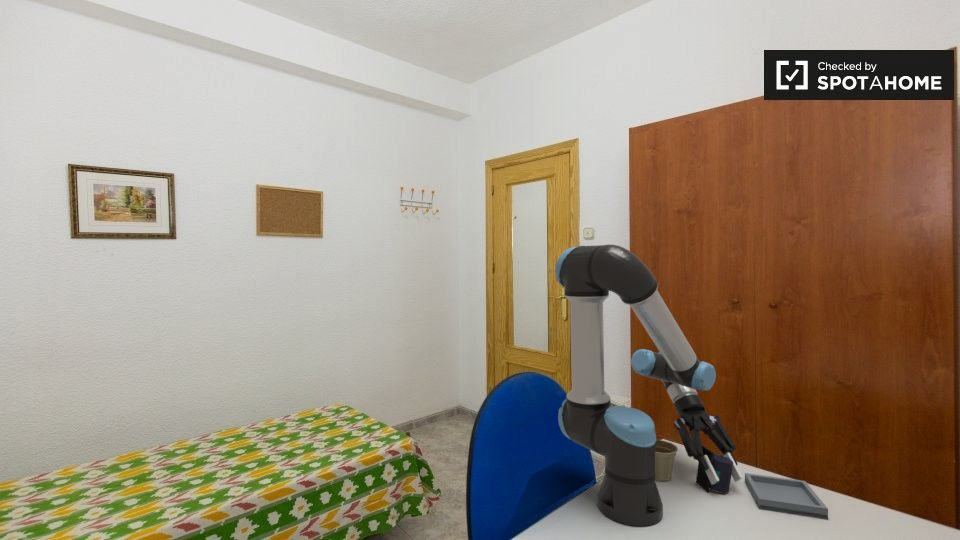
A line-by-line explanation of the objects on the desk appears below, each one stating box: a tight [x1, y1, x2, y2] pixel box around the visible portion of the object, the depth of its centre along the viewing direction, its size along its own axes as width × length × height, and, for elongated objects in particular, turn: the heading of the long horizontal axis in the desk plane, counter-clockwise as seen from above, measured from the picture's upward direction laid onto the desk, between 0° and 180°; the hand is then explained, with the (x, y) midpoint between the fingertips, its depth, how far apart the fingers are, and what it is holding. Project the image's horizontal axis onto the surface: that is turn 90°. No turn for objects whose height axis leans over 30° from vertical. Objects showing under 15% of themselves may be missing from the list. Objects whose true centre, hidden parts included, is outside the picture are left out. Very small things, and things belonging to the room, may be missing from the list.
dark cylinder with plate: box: [695, 444, 733, 494], centre depth 117 cm, size 8×6×10 cm
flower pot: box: [655, 439, 679, 482], centre depth 124 cm, size 9×9×9 cm
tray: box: [744, 472, 829, 520], centre depth 111 cm, size 14×14×2 cm
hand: (727, 480), depth 114 cm, fingers closed on dark cylinder with plate, 6 cm apart
